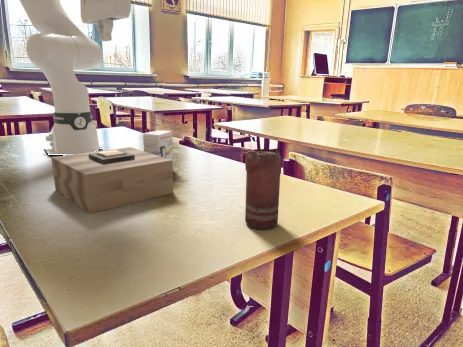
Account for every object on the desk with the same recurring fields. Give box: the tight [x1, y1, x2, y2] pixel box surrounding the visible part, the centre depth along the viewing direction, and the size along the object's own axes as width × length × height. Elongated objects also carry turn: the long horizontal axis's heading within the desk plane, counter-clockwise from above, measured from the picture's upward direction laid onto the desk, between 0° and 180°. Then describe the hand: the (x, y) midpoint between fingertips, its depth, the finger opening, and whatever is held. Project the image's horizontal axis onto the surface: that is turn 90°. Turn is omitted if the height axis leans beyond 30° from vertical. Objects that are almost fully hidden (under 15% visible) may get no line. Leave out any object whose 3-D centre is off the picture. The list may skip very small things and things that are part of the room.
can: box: [244, 148, 282, 231], centre depth 66 cm, size 6×6×14 cm
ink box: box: [142, 129, 175, 172], centre depth 100 cm, size 9×5×12 cm, turn 162°
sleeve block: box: [51, 146, 174, 214], centre depth 84 cm, size 20×20×9 cm
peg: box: [98, 149, 125, 158], centre depth 84 cm, size 4×4×9 cm
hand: (105, 40), depth 89 cm, fingers closed
